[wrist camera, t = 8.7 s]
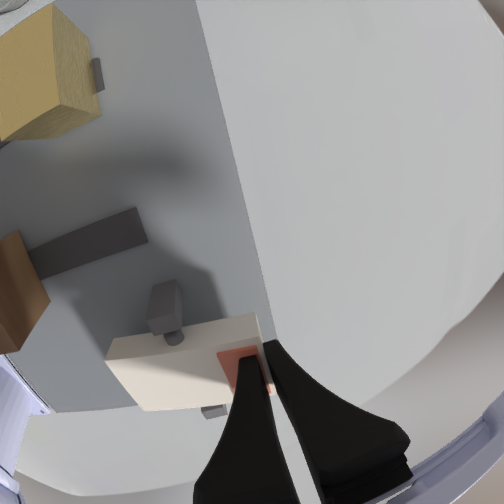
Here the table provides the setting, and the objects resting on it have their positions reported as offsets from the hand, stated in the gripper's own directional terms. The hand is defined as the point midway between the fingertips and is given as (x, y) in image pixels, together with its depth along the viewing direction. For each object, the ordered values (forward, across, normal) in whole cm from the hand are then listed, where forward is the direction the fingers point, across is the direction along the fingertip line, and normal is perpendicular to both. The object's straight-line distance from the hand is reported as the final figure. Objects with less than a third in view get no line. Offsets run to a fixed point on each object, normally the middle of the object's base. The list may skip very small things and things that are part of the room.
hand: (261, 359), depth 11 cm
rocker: (0, +3, 0) cm, 3 cm away
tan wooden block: (+3, +5, -14) cm, 15 cm away
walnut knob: (+2, +11, -6) cm, 13 cm away
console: (+5, +8, -8) cm, 12 cm away
